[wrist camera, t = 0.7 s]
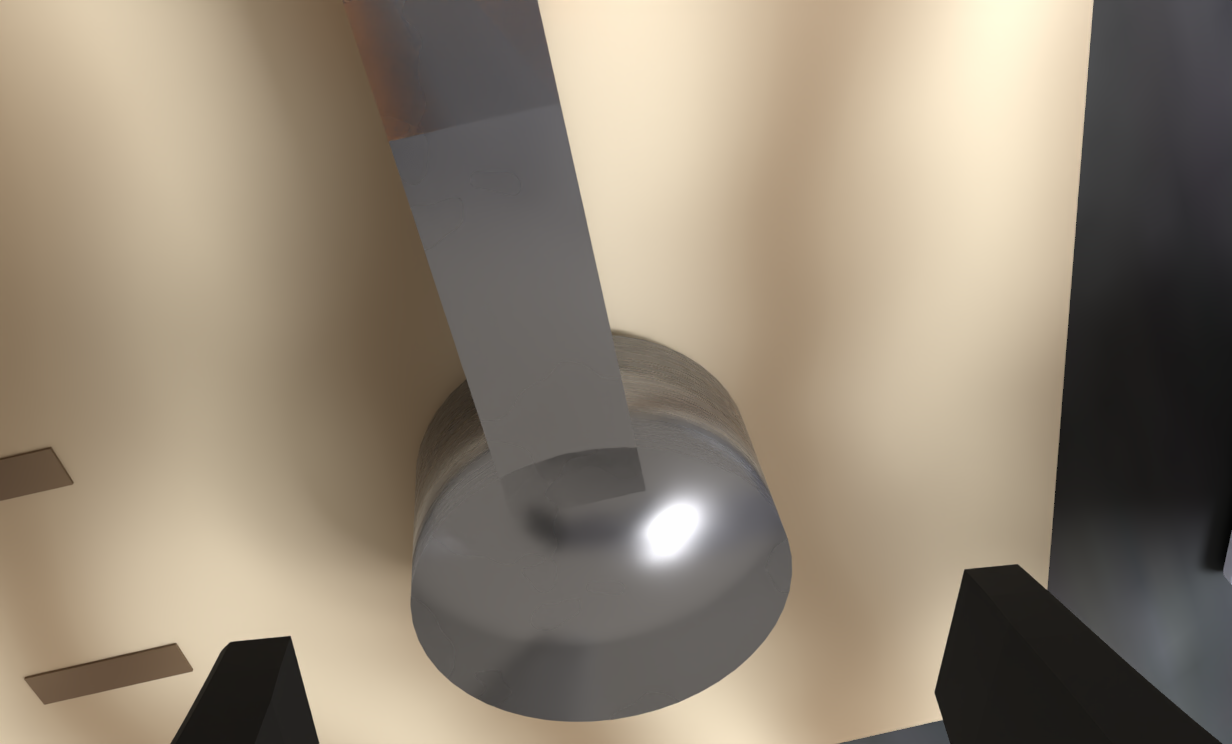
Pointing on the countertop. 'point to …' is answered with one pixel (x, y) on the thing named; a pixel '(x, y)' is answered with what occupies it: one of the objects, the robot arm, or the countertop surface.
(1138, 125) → the countertop surface
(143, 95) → the lock board
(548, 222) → the lever
